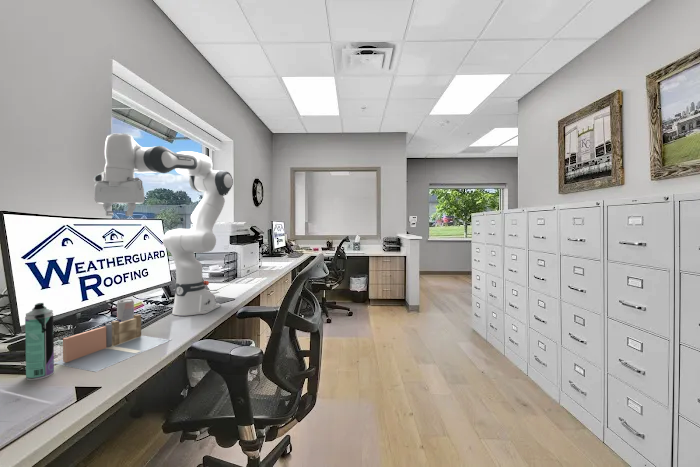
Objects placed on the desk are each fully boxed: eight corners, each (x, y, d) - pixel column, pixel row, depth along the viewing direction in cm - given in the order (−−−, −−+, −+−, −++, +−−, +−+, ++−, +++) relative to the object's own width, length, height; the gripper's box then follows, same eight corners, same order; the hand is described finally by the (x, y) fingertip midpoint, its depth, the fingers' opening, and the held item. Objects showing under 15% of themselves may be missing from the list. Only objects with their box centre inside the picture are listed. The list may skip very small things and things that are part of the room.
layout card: (132, 335, 120) (132, 333, 120) (171, 341, 115) (171, 339, 115) (50, 364, 95) (50, 362, 95) (95, 373, 90) (95, 371, 90)
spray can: (58, 373, 89) (57, 302, 89) (34, 382, 84) (32, 307, 83) (46, 370, 91) (45, 300, 90) (21, 379, 86) (20, 304, 85)
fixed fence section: (137, 335, 118) (137, 314, 118) (141, 336, 118) (141, 314, 118) (111, 345, 109) (111, 321, 109) (114, 345, 109) (114, 322, 108)
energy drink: (122, 329, 126) (122, 299, 126) (137, 329, 126) (136, 298, 126) (113, 334, 121) (113, 302, 120) (128, 334, 121) (128, 302, 121)
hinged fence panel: (109, 345, 108) (109, 323, 108) (113, 345, 108) (113, 323, 108) (62, 361, 95) (62, 337, 95) (66, 362, 95) (66, 337, 94)
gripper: (149, 178, 117) (149, 216, 118) (107, 179, 123) (107, 216, 123) (133, 175, 111) (133, 215, 111) (90, 177, 117) (89, 215, 117)
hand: (119, 216), depth 117 cm, fingers open, 8 cm apart
